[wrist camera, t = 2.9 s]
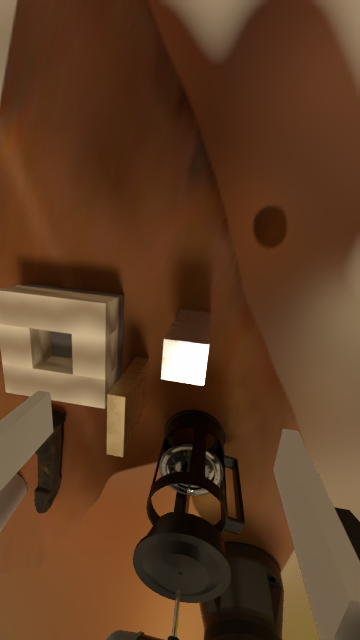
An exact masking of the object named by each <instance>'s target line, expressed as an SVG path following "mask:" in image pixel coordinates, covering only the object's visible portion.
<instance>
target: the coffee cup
mask: <svg viewBox="0 0 360 640" xmlns="http://www.w3.org/2000/svg"><path fill="white" fill-rule="evenodd" d="M26 493H27V484H26V482H25V481H24V479H23V478H22V477H21V476H20V475H18V474H17V473H16V474H15V475H14V477H13V478H12V479H11V480H10V481H9V482H8V483H7V484H6V486H5V487H4V488H3V489H2V490H1V491H0V532H1V530H2V529H3V527H4V526H5V524H6V523H7V521H8V520H9V518H10V517H11V515H12V514H13V512H14V511H15V509H16V508H17V506H18V505H19V503H20V502H21V500H22V499H23V497H24V496H25V494H26Z"/></svg>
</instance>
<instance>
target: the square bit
mask: <svg viewBox="0 0 360 640" xmlns="http://www.w3.org/2000/svg"><path fill="white" fill-rule="evenodd" d="M210 316H211V312H204V311H196V310H187V309H181V310H180V312H179V313H178V315H177V317H176V319H175V320H174V322H173V324H172V326H171V327H170V329H169V331H168V333H167V335H166V336H165V338H164V346H163V359H162V371H161V379H163V380H169V381H176V382H183V383H189V384H196V385H203V386H204V381H205V373H206V366H207V359H208V351H209V341H210Z"/></svg>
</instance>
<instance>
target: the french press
mask: <svg viewBox="0 0 360 640" xmlns="http://www.w3.org/2000/svg"><path fill="white" fill-rule="evenodd" d="M185 427H194V436H193V442H183V443H179V444H176V445H175V443H174V441H173V436H172V434H173V432H174V431H175V430H177V429H180V428H185ZM207 432H209V433H211V434H212V435H213V436H214V437H216V439H217V440H216V444H215V446H214V448H213V449H212V450H211V449H209V448H208V447H206V439H207ZM164 436H165V437H164V440H163V444H162V448H161V452H160V456H159V459H158V463H157V467H156V471H155V475H154V478H153V482H152V486H151V490H150V494H149V497H148V501H147V514H148V517H149V520H150V521H151V523H152V525H153V527H152V529H151V530H150V532H149V533H148V535H147V536H145V537H144V538H143V539H141V541H140V542H139V543H138V544H137V546H136V548H135V551H134V556H133V564H134V568H135V571H136V573H137V575H138V576H139V578H140V579H141V581H143V583H144V584H145V585H146V586H148V587H149V588H150V589H152V590H153V591H154V592H156V593H158V594H160V595H161V596H164V597H166V598H169V599H172V600H175V609H174V618H173V619H174V620H173V628H172V636H169V637H168V640H179V639H178V638H177V637H176V636H177V625H178V615H179V603H180V602H187V603H199V602H206V601H209V600H213V599H215V598H217V597H218V596H220V595H221V594H222V593H224V592H225V591H226V589H227V588H228V586H229V584H230V581H231V568H230V564H229V561H228V559H227V557H226V556H225V544H224V540H223V538H222V536H221V534H222V533H223V532H224V530H225V531H228V532H231V533H235V534H240V533H241V531H242V528H243V526H244V524H245V519H244V510H243V502H242V493H241V485H240V476H239V468H238V460H237V459H235V458H233V457H229V456H226V455H224V444H225V434H224V430H223V428H222V426H221V425H220V423H219V422H218V421H217V420H216V419H215V418H214V417H213V416H211V415H209V414H207V413H205V412H202V411H197V410H187V411H182V412H179V413H178V414H176V415H174V416H173V417H172V418H171V419H170V420H169V421H168V423H167V425H166V427H165V432H164ZM162 453H163V456H162ZM161 456H162V458H161ZM159 464H160V465H159ZM225 467H227V468H230V469H232V473H233V484H234V496H235V507H236V518H237V519H234V518H230V517H228V510H227V498H226V479H225ZM158 468H160V473H161V476H162V477H161V478H159V479H158V480H157V481H156V482H155V480H156V476H157V472H158ZM167 485H169V486H170V487H171V488H172V489H174V490H176V491H177V494H176V500H175V508H174V512H170V513H167V514H165V515H163V516H161V517H160V516H159V515H158V514H157V513H156V512H155V510H154V508H153V505H152V503H151V497H152V496H153V494H154V493H155V492H156V491H157V490H159V489H160V488H162V487H164V486H167ZM219 485H220V488H219V487H218V486H219ZM208 493H212V494H213V495H214V496H215V497H216V498H217V499H218V500H219V501H220V502H221V520H220V521H219V522H218V523H217V524H216V525H214V526H213V525H212V524H211V523H209V522H208V521H206V520H204V519H203V518H201V517H198V516H195V515H193V514H188V510H189V499H190V495H191V496H199V495H205V494H208Z"/></svg>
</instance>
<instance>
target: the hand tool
mask: <svg viewBox="0 0 360 640" xmlns="http://www.w3.org/2000/svg"><path fill="white" fill-rule="evenodd" d="M52 420H53V433H52V434H51V435H50V436H49V437H48V438H47V439H46V441H45V442H44V443H43V444H42V445H41V446H40V447H39V448H38V450H37V451H36V454H37V455H38V487H37V488H36V489H35V500H34V501H35V506H36V510H37V512H38V513H44V512H47V511H48V509H49V508H50V507H51V505H52V503H53V501H54V499H55V497H56V495H57V493H58V490H59V487H60V483H61V479H62V475H61V474H60V473H59V471H60V462H61V444H62V423H63V422H64V420H66V415H65V414H61V413H58V412H52Z"/></svg>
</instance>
